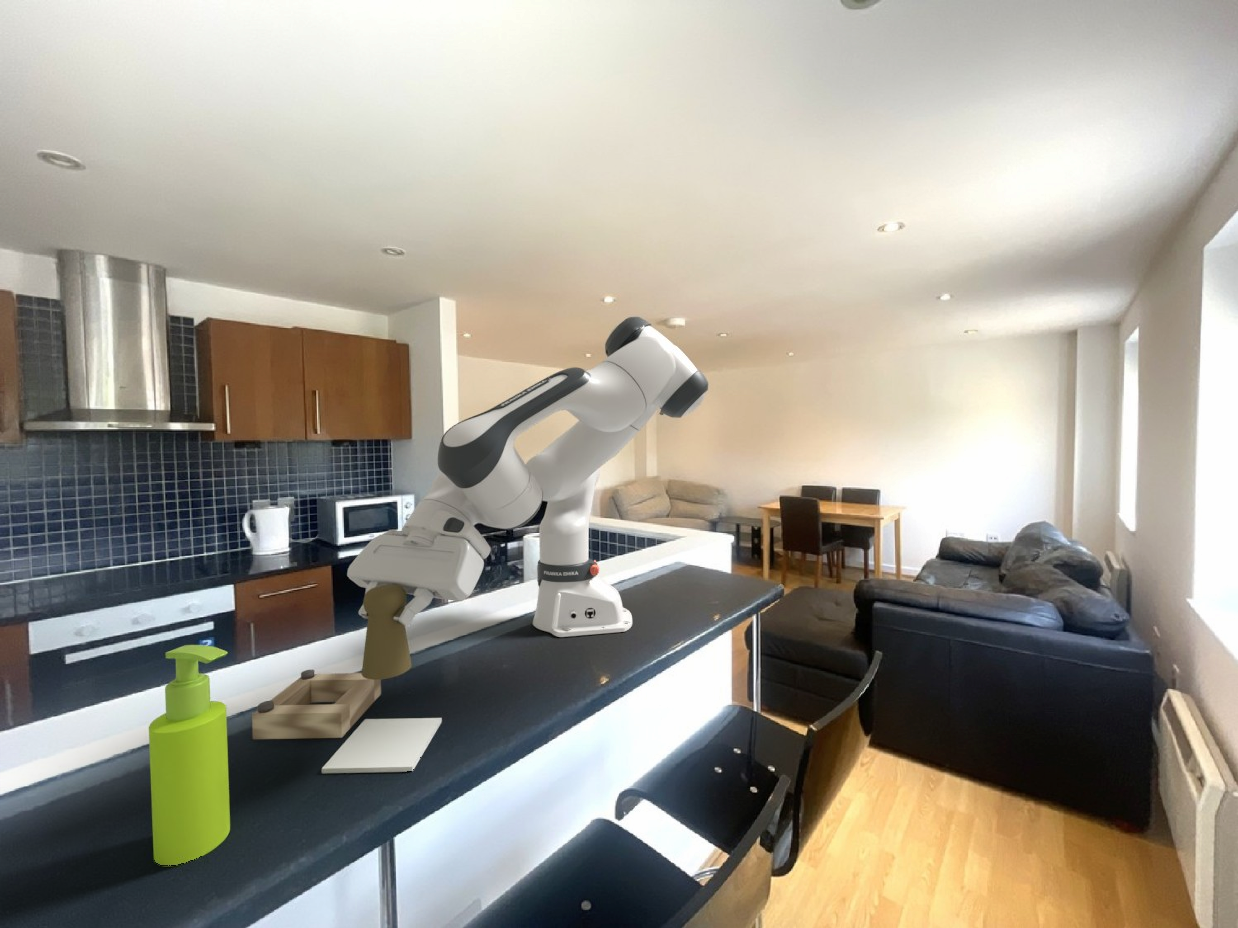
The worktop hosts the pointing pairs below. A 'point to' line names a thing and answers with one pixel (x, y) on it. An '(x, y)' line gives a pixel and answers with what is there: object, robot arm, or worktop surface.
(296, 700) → the sleeve block
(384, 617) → the brown pawn
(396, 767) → the white mat
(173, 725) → the soap dispenser
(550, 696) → the worktop surface
